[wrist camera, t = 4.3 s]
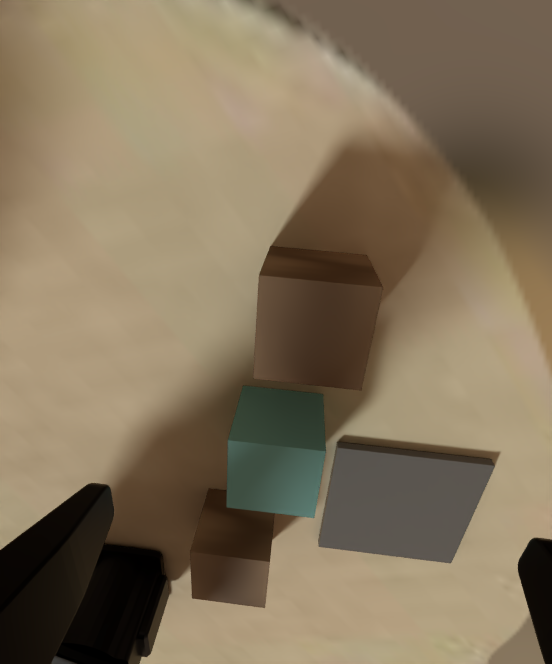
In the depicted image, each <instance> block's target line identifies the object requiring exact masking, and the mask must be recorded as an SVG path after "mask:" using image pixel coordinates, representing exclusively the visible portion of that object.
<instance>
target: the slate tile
mask: <svg viewBox="0 0 552 664" xmlns="http://www.w3.org/2000/svg"><path fill="white" fill-rule="evenodd" d="M494 467H495V465H494V463H493V462H492V460H491V459H483V458H474V457H466V456H457V455H448V454H439V453H431V452H422V451H413V450H404V449H396V448H387V447H378V446H369V445H360V444H352V443H343V442H337V445H336V451H335V456H334V461H333V466H332V471H331V477H330V482H329V487H328V492H327V498H326V503H325V508H324V513H323V519H322V524H321V529H320V534H319V540H318V544H319V547H325V548H333V549H341V550H349V551H357V552H364V553H372V554H380V555H388V556H396V557H404V558H412V559H420V560H428V561H436V562H444V563H451V562H452V560H453V558H454V556H455V554H456V551H457V549H458V547H459V545H460V542H461V540H462V538H463V536H464V534H465V531H466V529H467V527H468V525H469V522H470V520H471V518H472V516H473V514H474V511H475V509H476V507H477V505H478V503H479V500H480V498H481V496H482V494H483V491H484V489H485V487H486V485H487V483H488V480H489V478H490V476H491V474H492V471H493V469H494Z"/></svg>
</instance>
